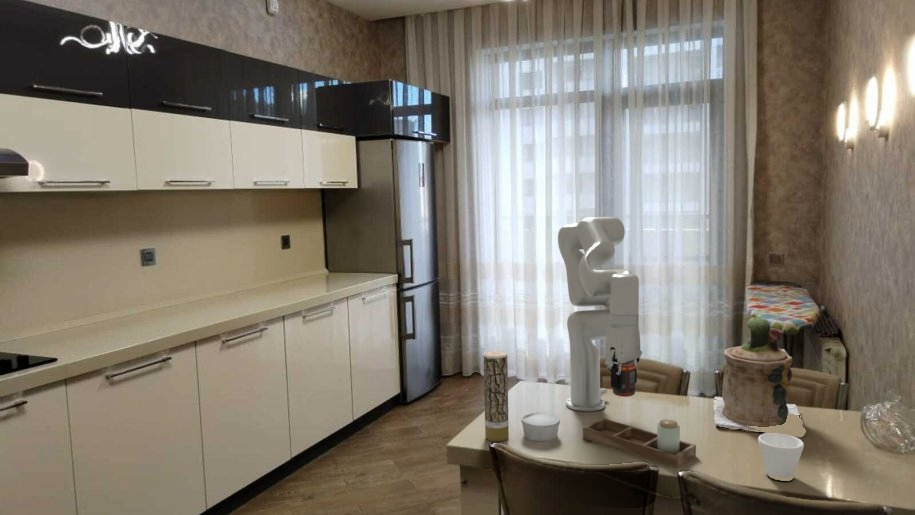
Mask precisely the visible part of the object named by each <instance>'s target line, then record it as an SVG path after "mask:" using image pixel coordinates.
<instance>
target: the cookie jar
mask: <svg viewBox="0 0 915 515" xmlns="http://www.w3.org/2000/svg"><path fill="white" fill-rule="evenodd" d="M746 324H747V326H748V328H749V329H750V333H751V338H750V339H751V340H748V341H747V342H744V343H743V344H742V345H739V346H733V347H730V348H726V349H725V350H724V352H723V357H724V359H725V365H724V366H725V367H724V368H725V371H724V375H723V378H722V393H721V394H722V395H721V396H714V399H716V400H714V399H713V402H712V404H713V405H712V409H713V411H714V416H713V422H714V425H716V426H718V427H720V428H721V427H727V428H739V429H748V430H757V429H754V428H751V427H749V426H758V427H769V426H776V425H782V424H784V423H785V422H786V419H787V416H788V413H789V414H794V415H800V416H801V414H800V412H799V408H798V406H797V405H796V404H794V403H788V394H789V391H790V388H791V386H790V385H791V384H790V382H791V380H792V378H793V372H792V370H791V366H792V364H793V361H794V360H793V357H792V356H790V355H789V353H788V352H787V351H786V349H784V348H780V347H779V345H778V344H777V343H778V342H779V343H780V341H781V340H782V339H781V338H782V336H783V335H782V334H783V332H782V331H781V330H780V329H779V328H775V327H771V325H770V322H769V321H768V320H767V319H764V318H761V317H759V316H758V315H756V314H754V313H752V314H750V316H749V319H748V321H747V323H746ZM798 417H799V416H798ZM801 421H803V422H804V420H803V419H802V420H801ZM801 423H802V422H801ZM747 425H748V426H747ZM802 425H803V426H804V424H802ZM758 431H761V430H758Z"/></svg>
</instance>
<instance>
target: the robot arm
mask: <svg viewBox="0 0 915 515" xmlns="http://www.w3.org/2000/svg"><path fill="white" fill-rule="evenodd" d="M625 231H626V230H625V225H624V223H623V222H622V220H621V219H620V218H618V217H616V216H598V217H597V216H592V217H586V218H584V219H581V220H580V221H579V222H578V223H572V224H571V223H570V224H566V225H563V226H561V228H560V229H559V231H558V233H557V244H558V249H559V252H560V255H561V258H562V260H563V262H564V266H565V269H566V282H567V290H568V297H569V302H570V304H571V305H572V306H575V307H580V308H581V307H583V308H585V307H589V308H590V307H602V308H603V309H592V310H591V309H590V310H585V309H584V310H577V311H574V312H572V313H570V314H569V316H568V317H567V321H566V326H567V332H568V338H569V355H570V360H569V361H570V363H569V364H570V366H569V368H570V372H569V373H570V397H568V398H567V399H566V401H565V405H566V407H567V408H569V409H571V410H574V411H578V412H597V411H600V410H603V409H604V408H605V406H606V402H605V401H604V400H603V399H602V396H604V395H607V393H608V390H607V388H601V354H600V351H599V349H598V347H597V346H596V345H595V344H594V343H593V341H595V340H596V341H597V340H605V361H604V364H605V367H607V369H608V371H609V373H610V387H611V388H612V389H613V388H617V389H622V374H620V373H621V368H622V364H623V363H626V362H629V361H634V363H635V384H637V381H638V380H637V377H638V374H637V371H638V370H637V369H638V368H639V362H640V359H641V357H642V354H643V351H642V350H641V335H640V326H639V324H640V322H639V321H640V320H639V316H640V315H639V314H640V310H639V309H640V308H639V306H640V304H639V302H640V299H639V298H640V296H639V295H640V280H639V277H638V275H636V274H633V272H632V271H630V270H629V269H627V268H626V269H623V268H622V269H621V268H619V269H597V268H599V267H601V266H603V265H606V264H607V263H609V262H610V261H611V260H612V259H613V257H614V255H615V250H616V248H615V247H616V246H617V245H619V244H621V243H623V240H624V238H625V234H626V232H625ZM581 250H583V251H584V252H583V251H581ZM616 360H617V361H618V362H615V361H616ZM615 364H617V365H618V367H617V368H616V367H615Z"/></svg>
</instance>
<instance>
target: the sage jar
mask: <svg viewBox="0 0 915 515" xmlns="http://www.w3.org/2000/svg"><path fill="white" fill-rule="evenodd" d="M656 424H657V426H656V427H657V428H656V431H657V432H656V434H657V449H658V450H662V451H665V452H668V453H671V454H675V455H676V454H677V453H679V452H680V441H681V440H680V436H681V432H680V430H681V426H680V424H678V421H675V420H672V419H667V418H666V419H660V421H659V422H658V423H656Z"/></svg>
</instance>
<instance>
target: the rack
mask: <svg viewBox="0 0 915 515" xmlns="http://www.w3.org/2000/svg"><path fill="white" fill-rule="evenodd" d="M582 440H584V441H586V442H588V443H589V442H590V443H593V442H594V443H598V444H600V445H603V446H607V447H611V448H613V449H615V450H619V451H622V452H626V453H628V454H632V455H634V456H638V457H641V458H643V459H647V460H650V461H652V462H657V463H659V464H663V465H664V466H665V465H666V466H669V467H671V466H672V468H674V467H675V468H674V469H677V468H679V467H680V465H681V466H683V465H684V464H686V463H687V462H689V461H690V460H692V459H694V458H695V457H696V456H697V455H696V454H697V448H696V447H697V445H696V444H694V443H691V442H687V441H684V440H680V452H679V453H677V454H676V455H675V454H671V453H668V452H665V451H662V450H658V449H657V432H651V431H649V430H645V429H641V428H638V427H634V426H631V425H627V424H624V423H622V422H617V421H614V420H611V419H607V418H604V417H603V418H601V419H598V420H596V421H594V422H592V423H590V424H588V425H585V426H583V427H582Z"/></svg>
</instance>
